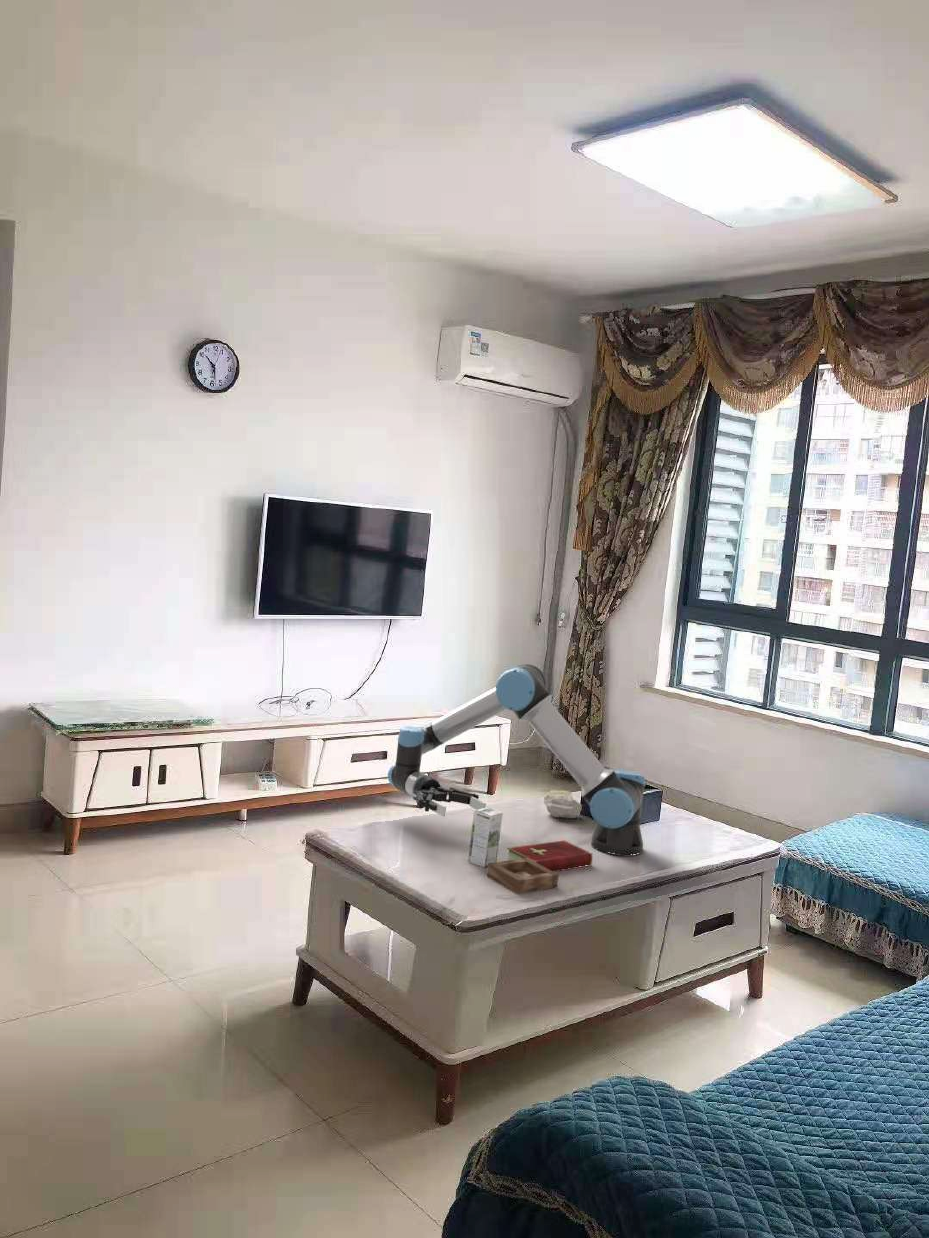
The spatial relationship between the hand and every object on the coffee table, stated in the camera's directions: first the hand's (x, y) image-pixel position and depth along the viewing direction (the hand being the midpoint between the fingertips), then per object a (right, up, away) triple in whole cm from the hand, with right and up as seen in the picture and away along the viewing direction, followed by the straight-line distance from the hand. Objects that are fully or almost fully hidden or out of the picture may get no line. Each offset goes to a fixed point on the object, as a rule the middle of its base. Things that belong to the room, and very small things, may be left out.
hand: (464, 809), depth 284 cm
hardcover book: (+23, -15, -1) cm, 28 cm away
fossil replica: (+31, -11, +46) cm, 57 cm away
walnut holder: (+15, -15, -19) cm, 28 cm away
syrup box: (+5, -13, -7) cm, 16 cm away
